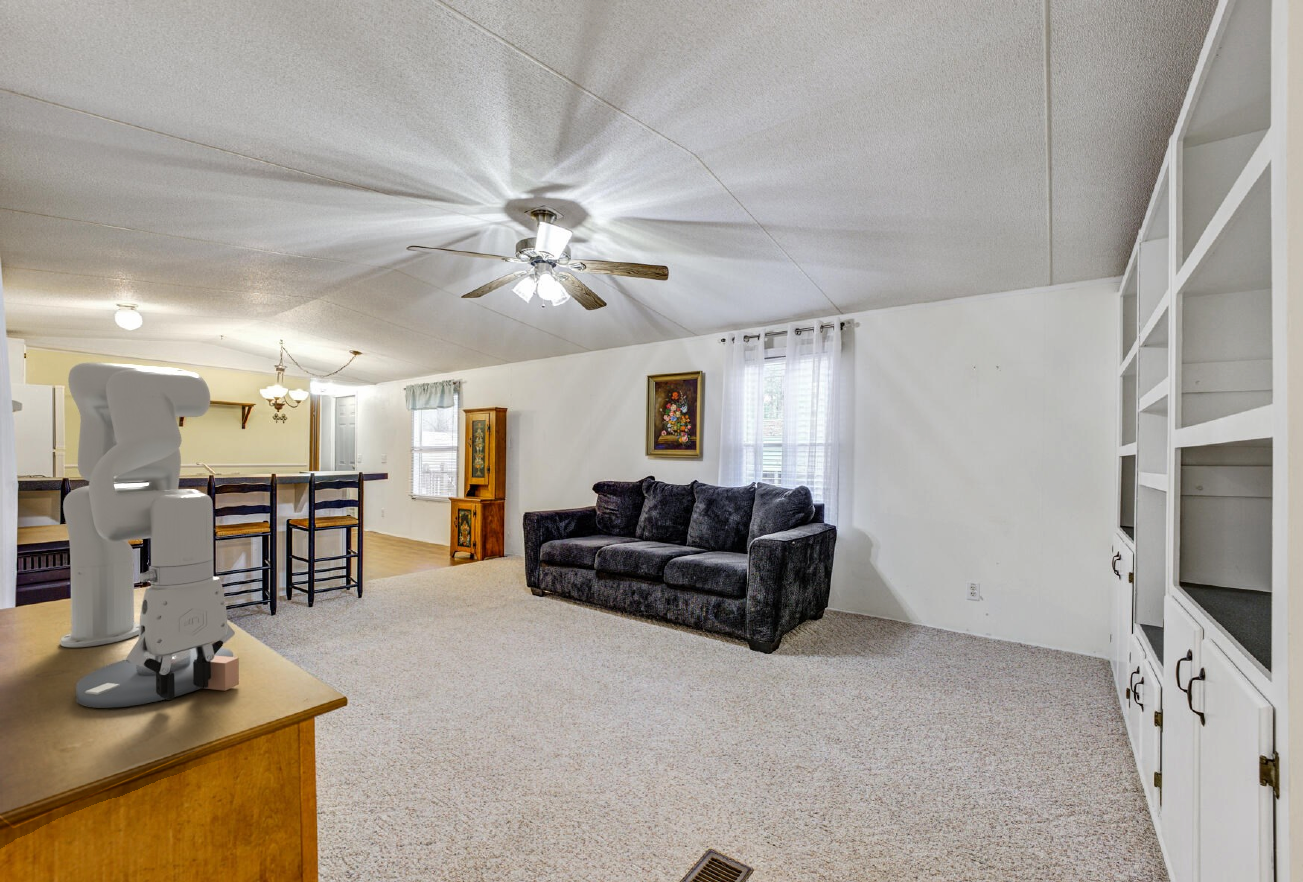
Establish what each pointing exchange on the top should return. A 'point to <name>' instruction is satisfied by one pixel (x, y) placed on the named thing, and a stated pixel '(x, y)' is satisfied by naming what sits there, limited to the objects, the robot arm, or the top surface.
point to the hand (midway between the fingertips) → (184, 690)
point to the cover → (177, 663)
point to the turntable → (150, 682)
